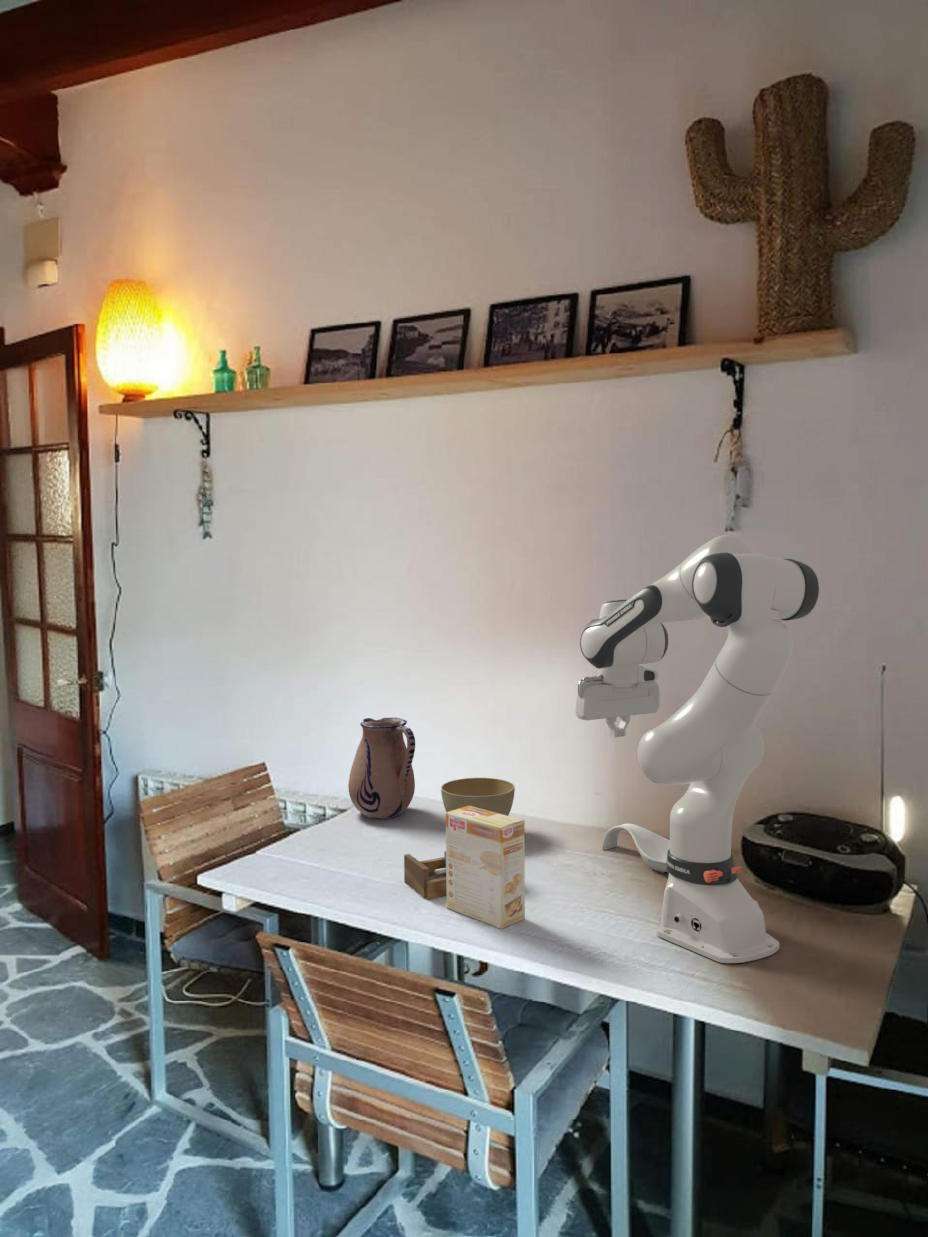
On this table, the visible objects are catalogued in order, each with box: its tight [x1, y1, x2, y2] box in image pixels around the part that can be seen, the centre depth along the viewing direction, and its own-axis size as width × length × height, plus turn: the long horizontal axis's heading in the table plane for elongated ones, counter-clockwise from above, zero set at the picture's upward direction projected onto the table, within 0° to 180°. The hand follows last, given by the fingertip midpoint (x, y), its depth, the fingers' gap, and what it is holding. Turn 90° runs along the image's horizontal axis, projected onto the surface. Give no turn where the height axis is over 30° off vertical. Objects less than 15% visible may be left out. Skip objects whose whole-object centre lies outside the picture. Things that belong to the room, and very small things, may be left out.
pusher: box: [435, 850, 446, 874], centre depth 199 cm, size 5×9×5 cm, turn 27°
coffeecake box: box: [445, 806, 526, 930], centre depth 183 cm, size 15×7×20 cm, turn 45°
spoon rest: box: [601, 823, 670, 874], centre depth 212 cm, size 24×12×7 cm, turn 39°
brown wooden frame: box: [403, 853, 447, 901], centre depth 201 cm, size 21×12×6 cm, turn 117°
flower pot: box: [440, 777, 516, 816], centre depth 232 cm, size 18×18×12 cm
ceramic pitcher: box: [347, 717, 416, 820], centre depth 248 cm, size 18×21×25 cm
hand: (617, 736), depth 207 cm, fingers closed
